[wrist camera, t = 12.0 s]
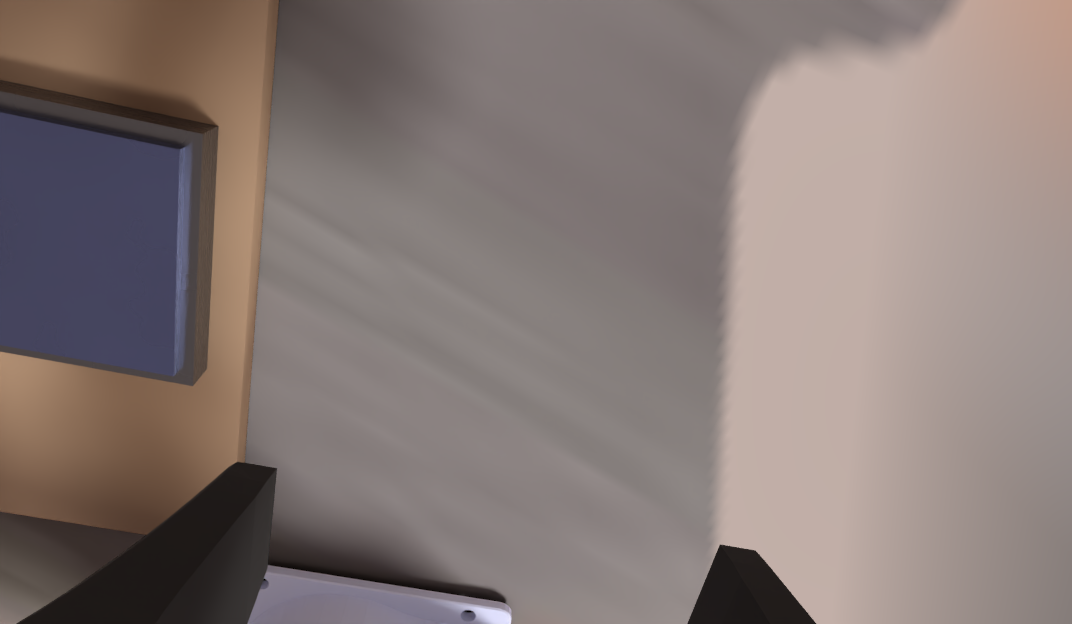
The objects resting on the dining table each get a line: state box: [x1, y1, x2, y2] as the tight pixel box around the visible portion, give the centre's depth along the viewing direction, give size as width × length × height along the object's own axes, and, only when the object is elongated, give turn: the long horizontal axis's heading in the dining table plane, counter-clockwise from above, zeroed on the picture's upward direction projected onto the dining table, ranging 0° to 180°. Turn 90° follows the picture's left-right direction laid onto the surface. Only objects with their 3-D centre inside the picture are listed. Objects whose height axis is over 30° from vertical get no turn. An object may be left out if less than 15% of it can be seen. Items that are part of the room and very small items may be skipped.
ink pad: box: [0, 80, 219, 386], centre depth 19 cm, size 6×7×1 cm
